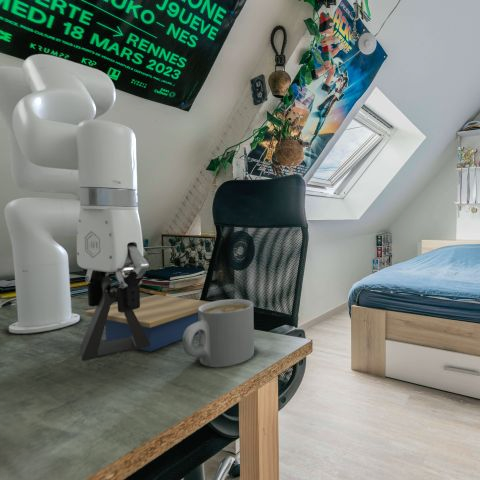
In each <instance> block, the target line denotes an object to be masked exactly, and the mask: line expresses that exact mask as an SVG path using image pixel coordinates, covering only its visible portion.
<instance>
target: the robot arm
mask: <svg viewBox="0 0 480 480" xmlns="http://www.w3.org/2000/svg"><path fill="white" fill-rule="evenodd" d="M116 91H117V90H116V87H115V84H114V82H113V81H112V79H111V77H109V75H108V74H107V73H105V72H103V71H102V70H99V69H98V68H94V67H91V66H88V65H84V64H81V63H78V62H74V61H72V60H69V59H65V58H63V57H59V56H56V55H51V54H44V53H38V54H32V55H30V56H28V57H27V58H26V59H25V60H24V61H23V64H22V67H19V66H12V65H11V66H10V65H0V115H1V117H2V118H3V120H4V123H5V125H6V128H7V133H8V148H9V160H10V162H9V163H10V172H11V178H12V181H13V183H14V185H15V186H16V187H17V188H19V189H20V190H23V191H28V192H29V191H30V192H38V193H53V194H71V195H74V196H75V198H57V197H37V196H35V197H32V196H31V197H20V198H15V199H12V200H10V201H9V202H8V203H7V204H6V205H5V207H4V212H3V213H4V219H5V220H4V221H5V224H6V227H7V231H8V234H9V238H10V243H11V247H12V258H13V269H14V271H13V272H14V284H15V298H16V311H17V312H16V313H17V321H16V322H14V323H11V324H10V325H9V326H8V332H9V333H12V334H20V335H21V334H22V335H23V334H25V335H26V334H36V333H42V332H49V331H54V330H59V329H62V328H66V327H69V326H72V325H75V324H76V323H78V322H79V321H80V320H81V315H80V314H78V313H75V312H74V313H73V312H72V300H71V299H72V297H71V279H70V265H69V255H68V254H69V253H68V252H67V251H66V249H65V248H64V247H63V246H62V245H60V244H59V243H58V242H57V241H55V239H54V238H57V237H58V238H59V237H76V263H77V266H78V267H79V268H81V269H82V271H83V272H84V274H85V277H84V278H85V282H86V283H87V298H88V299H87V301H88V306H89V307H92V308H93V307H97V305H98V302H99V300H100V297H101V294H102V287H101V281H102V280H103V278H105V277H106V276H109V275H110V273H115V275H116V276H117V279H118V282H119V283H118V282H117V283H118V284H119V286H120V287H121V288H118V287H116V290H117V301H118V302H117V304H118V312H121V313H123V312H127V311H130V310H134V309H138V308H139V307H140V298H141V291H140V286H141V285H142V284H143V282H142V280H143V279H144V278H145V274H146V272H147V271H148V270H149V267H150V265H149V262H148V261H147V259H146V258H145V257H144V241H143V240H144V239H143V233H142V225H141V219H140V215H139V211H138V210H139V198H138V194H139V193H138V171H137V170H138V169H137V168H138V167H137V139H136V134H135V132H134V130H133V129H132V128H130V127H129V126H127V125H125V124H122V123H119V122H115V121H110V120H102V119H98V118H100V117H102V116H103V115H105V114H107V113H108V112H109V111H110V110H111V109H112V108H113V107H114V106H115V103H116V97H117V92H116ZM127 273H128V274H127ZM126 274H127V276H126ZM111 285H112V284H110V285H108V286H107V288H106V290H107V291H112V289H111V288H112V287H111Z"/></svg>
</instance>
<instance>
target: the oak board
mask: <svg viewBox="0 0 480 480" xmlns="http://www.w3.org/2000/svg"><path fill="white" fill-rule="evenodd" d="M210 302H211V301H209V300H208V301H206V300H201V299H192V298H185V297H178V296H169V295H163V294H153V295H149V296H144V297H140V307H139V308H138V309H134V310H133V312H134V313H135V315H136V317H137V319H138V321H139V323H140V325H141V326H143V327H148V328H151V327H154V326H157V325H160V324H163V323H166V322H169V321H172V320H175V319H178V318H181V317H185V316H188V315H191V314H194V313H197V312H198V308H199V307H200V306H202V305H204V304H206V303H210ZM95 309H96V308H94V309H89V310H85V317H91V318H92V317H93V314H94V312H95ZM107 320H112V321H117V322H122V323H127V324H128V322H127V320H126V317H125V315H124V312H123V313H121V312H118V303H115V304H114V303H113V304H111V306H110V310H109V313H108V317H107Z"/></svg>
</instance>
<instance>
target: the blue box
mask: <svg viewBox="0 0 480 480" xmlns="http://www.w3.org/2000/svg"><path fill="white" fill-rule="evenodd" d="M196 322H198V312H197V313H194V314H191V315H188V316H185V317H181V318H178V319H175V320H172V321H169V322H166V323H163V324H160V325H157V326H154V327H151V328H148V327H143V326H141V327H142V329H143V331H144V333H145V335H146V337H147V338H148V340H149V342H150V346H149V347H145V348H140V349H139V350H141V351H145V352H149V353H150V352H153V351H156V350H159V349H161V348H163V347H166V346H168V345H171V344H173V343H176V342H178V341H181V340H183V334H184V331H185V330H186V328H187V327H188V326H190V325H192V324H193V323H196ZM104 328H105V342H106V341H111V340H116V339H122V338H127V337H131V336H132V333H131V330H130V328H129V325H128V324H127V323H122V322H117V321H112V320H106V324H105V327H104ZM196 334H199V331H198V332H196V333H195V335H196Z"/></svg>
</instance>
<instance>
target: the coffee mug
mask: <svg viewBox="0 0 480 480" xmlns="http://www.w3.org/2000/svg"><path fill="white" fill-rule="evenodd" d="M209 302H210V303H206V304H204V305H202V306H200V307H199V308H198V322H196V323H193V324H192V325H190V326H188V327H187V328H186V330H185V331H184V334H183V339H182V348H183V351H184V352H185V353H186V354H187V355H189V356H191V357H197V358H198V357H199V362H200V364H201V365H204V366H205V367H209V368H225V367H231V366H235V365H238V364H241V363H244V362H246V361H248V360H250V359H251V358H252V357H253V356H254V354H255V323H254V303H253V302H252V301H251V300H249V299H239V298H235V299H234V298H233V299H220V300H214V301H209ZM198 331H199V333H198V345H197V346H196V347H194V344H193V340H194V336H195V335H196V334H197V333H196V332H198ZM195 333H196V334H195Z"/></svg>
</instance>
